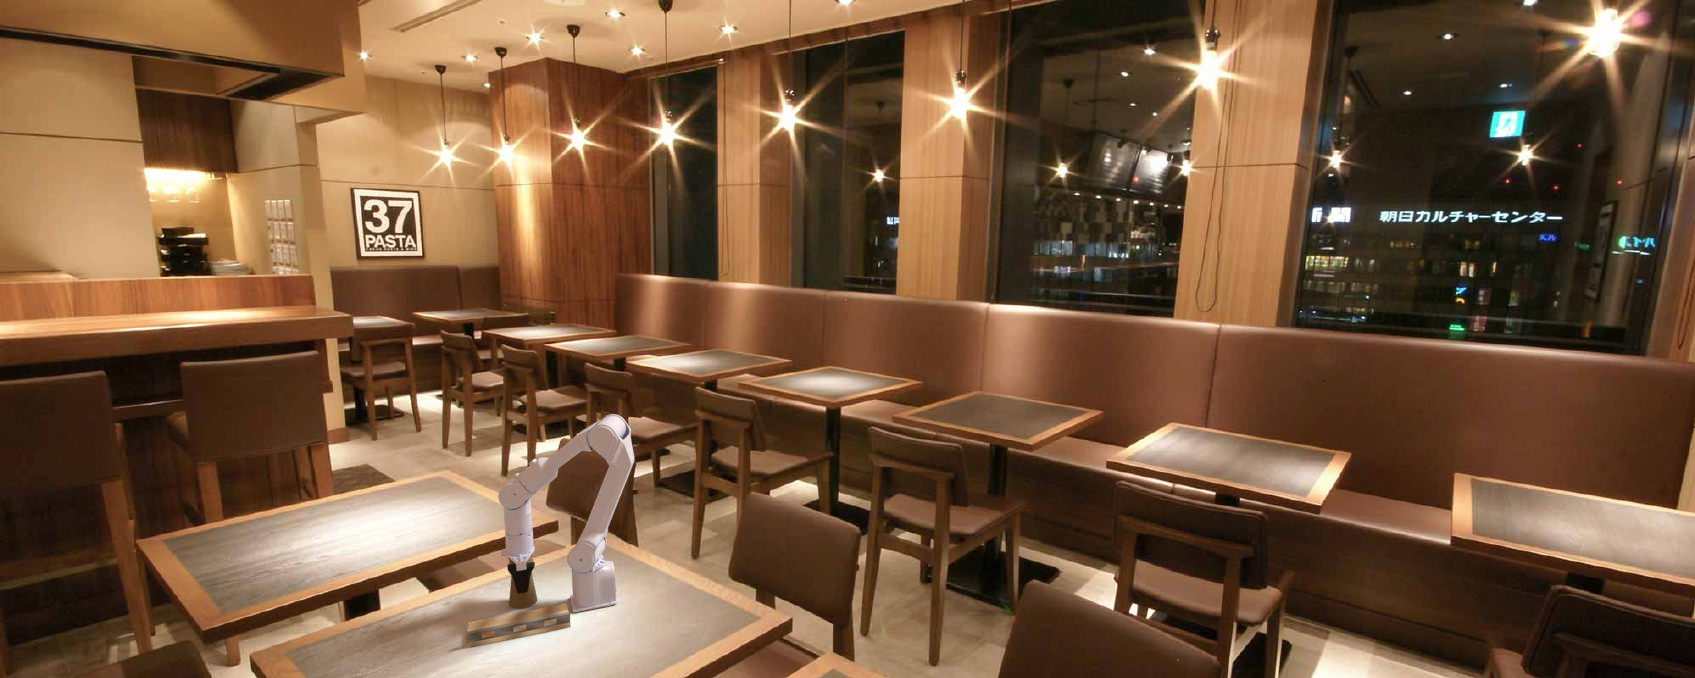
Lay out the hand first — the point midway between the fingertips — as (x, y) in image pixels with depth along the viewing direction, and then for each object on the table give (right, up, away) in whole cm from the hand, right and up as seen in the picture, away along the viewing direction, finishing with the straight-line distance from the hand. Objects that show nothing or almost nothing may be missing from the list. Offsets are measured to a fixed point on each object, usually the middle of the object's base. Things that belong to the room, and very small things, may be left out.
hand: (522, 586), depth 171 cm
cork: (0, -4, +1) cm, 4 cm away
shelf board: (+4, -5, -10) cm, 12 cm away
